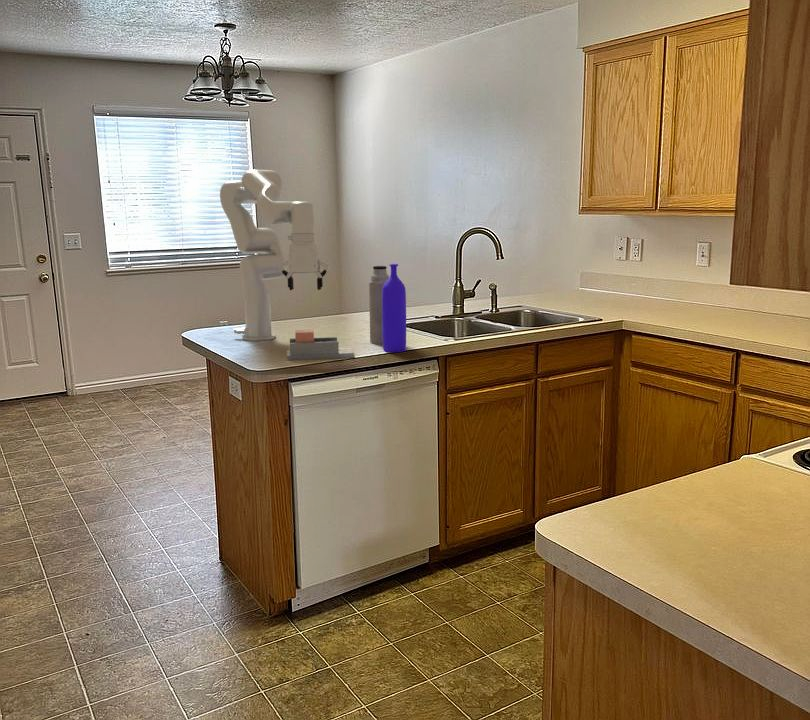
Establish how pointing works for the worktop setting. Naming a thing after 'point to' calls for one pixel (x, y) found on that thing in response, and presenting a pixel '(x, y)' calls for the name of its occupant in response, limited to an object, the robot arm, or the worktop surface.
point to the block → (304, 336)
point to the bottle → (394, 313)
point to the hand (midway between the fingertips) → (305, 289)
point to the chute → (318, 349)
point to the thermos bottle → (376, 303)
